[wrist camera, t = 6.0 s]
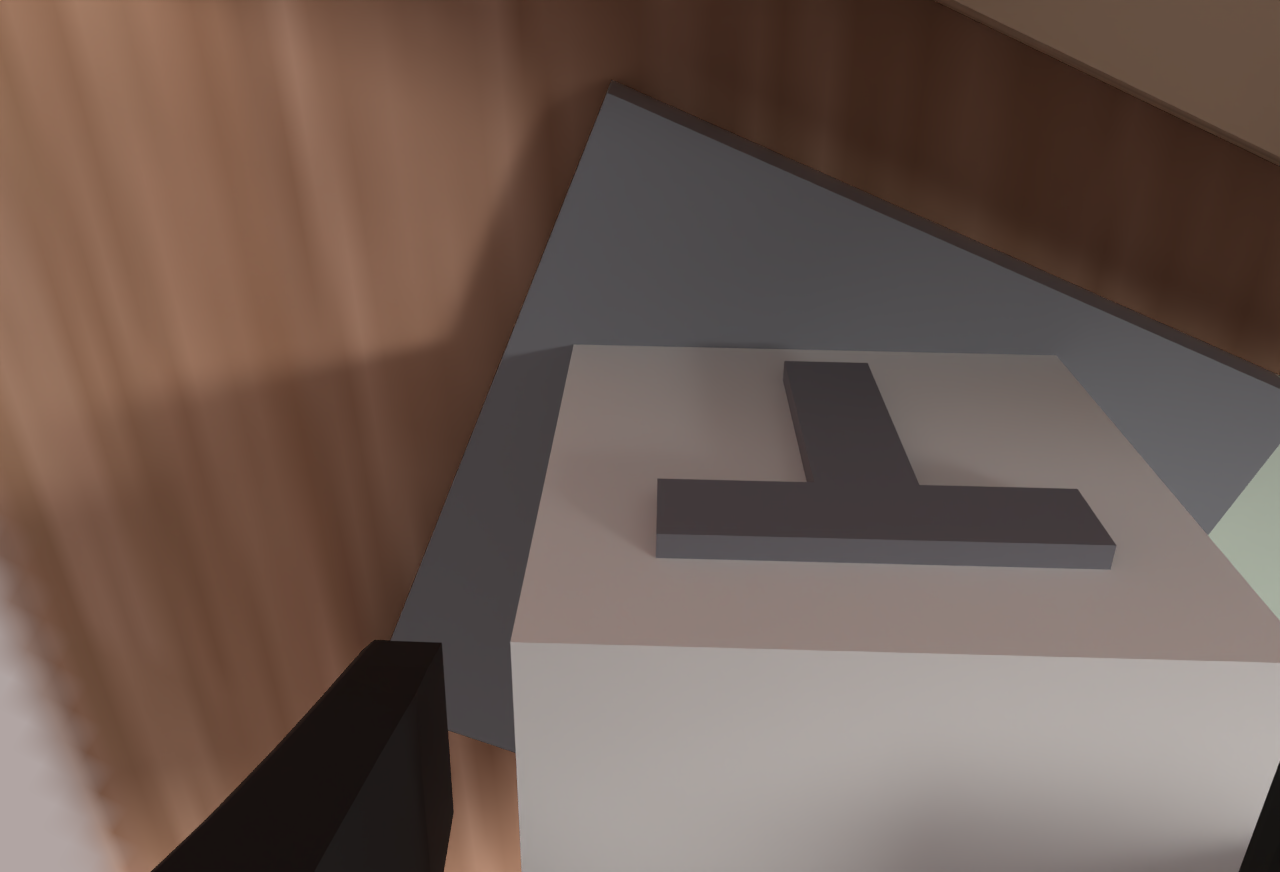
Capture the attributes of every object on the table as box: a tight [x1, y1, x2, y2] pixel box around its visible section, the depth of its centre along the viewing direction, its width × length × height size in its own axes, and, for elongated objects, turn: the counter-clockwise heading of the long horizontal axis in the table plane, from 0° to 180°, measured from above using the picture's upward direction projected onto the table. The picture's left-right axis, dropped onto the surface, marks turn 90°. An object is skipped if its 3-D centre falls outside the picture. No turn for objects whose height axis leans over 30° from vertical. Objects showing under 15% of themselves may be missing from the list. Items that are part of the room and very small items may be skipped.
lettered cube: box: [510, 344, 1280, 872], centre depth 10 cm, size 5×5×5 cm
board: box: [390, 80, 1280, 753], centre depth 13 cm, size 16×8×1 cm, turn 67°
